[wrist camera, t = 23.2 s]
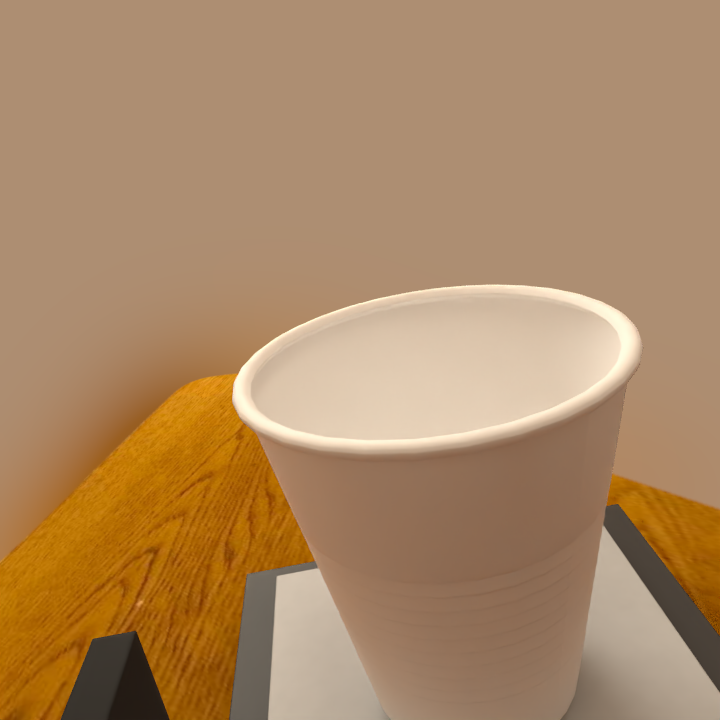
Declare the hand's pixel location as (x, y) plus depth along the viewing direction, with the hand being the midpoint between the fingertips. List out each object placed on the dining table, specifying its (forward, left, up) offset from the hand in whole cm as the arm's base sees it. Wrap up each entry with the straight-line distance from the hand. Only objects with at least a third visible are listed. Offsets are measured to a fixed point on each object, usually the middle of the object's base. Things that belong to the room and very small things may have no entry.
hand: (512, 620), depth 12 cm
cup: (0, -6, -8) cm, 10 cm away
